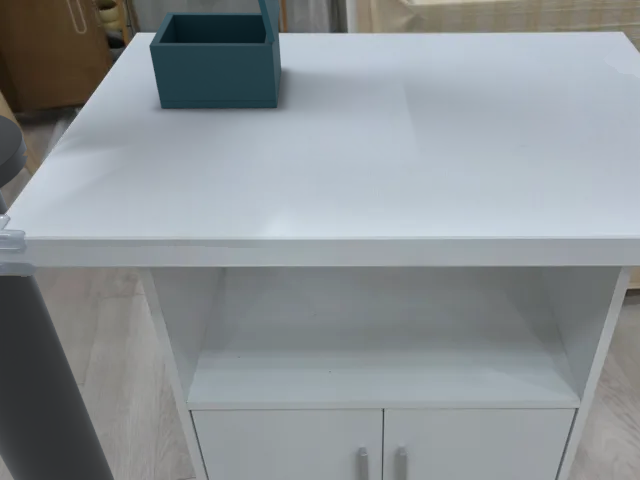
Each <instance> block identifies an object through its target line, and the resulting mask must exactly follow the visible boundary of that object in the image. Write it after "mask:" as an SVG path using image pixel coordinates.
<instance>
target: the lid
mask: <svg viewBox="0 0 640 480" xmlns="http://www.w3.org/2000/svg"><path fill="white" fill-rule="evenodd" d="M257 2H258V6H259V11H260V13H261V14H262V18H263V22H264V26H265V30H266V34H267V37H268V41H269V43H270V42H275V38H276V31H277V24H278V25H279V18H280V10H281V8H280V2H279V0H257Z"/></svg>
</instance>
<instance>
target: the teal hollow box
mask: <svg viewBox="0 0 640 480" xmlns="http://www.w3.org/2000/svg"><path fill="white" fill-rule="evenodd" d="M280 44H281V43H280V31H279V23H278V24H277V31H276V38H275V42H270V43H269V41H268V37H267V34H266V30H265V26H264V22H263V18H262V14H261V12H200V11H199V12H194V11H193V12H191V11H190V12H189V11H188V12H187V11H184V12H182V11H180V12H177V11H176V12H175V11H172V12H171V11H170V12H169V11H168V12H166V14H165V16H164V17H163V19H162V22H161V23H160V25H159V27H158V29H157V31H156V32H155V34H154V36H153V38H152V40H151V41H150V44H149V52H150V58H151V62H152V67H153V68H152V69H153V73H154V79H155V82H156V89H157V94H158V98H159V104H160V108H161V109H276V108H278V101H279V94H280V84H281V76H282V60H281V59H282V58H281V45H280Z"/></svg>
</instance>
